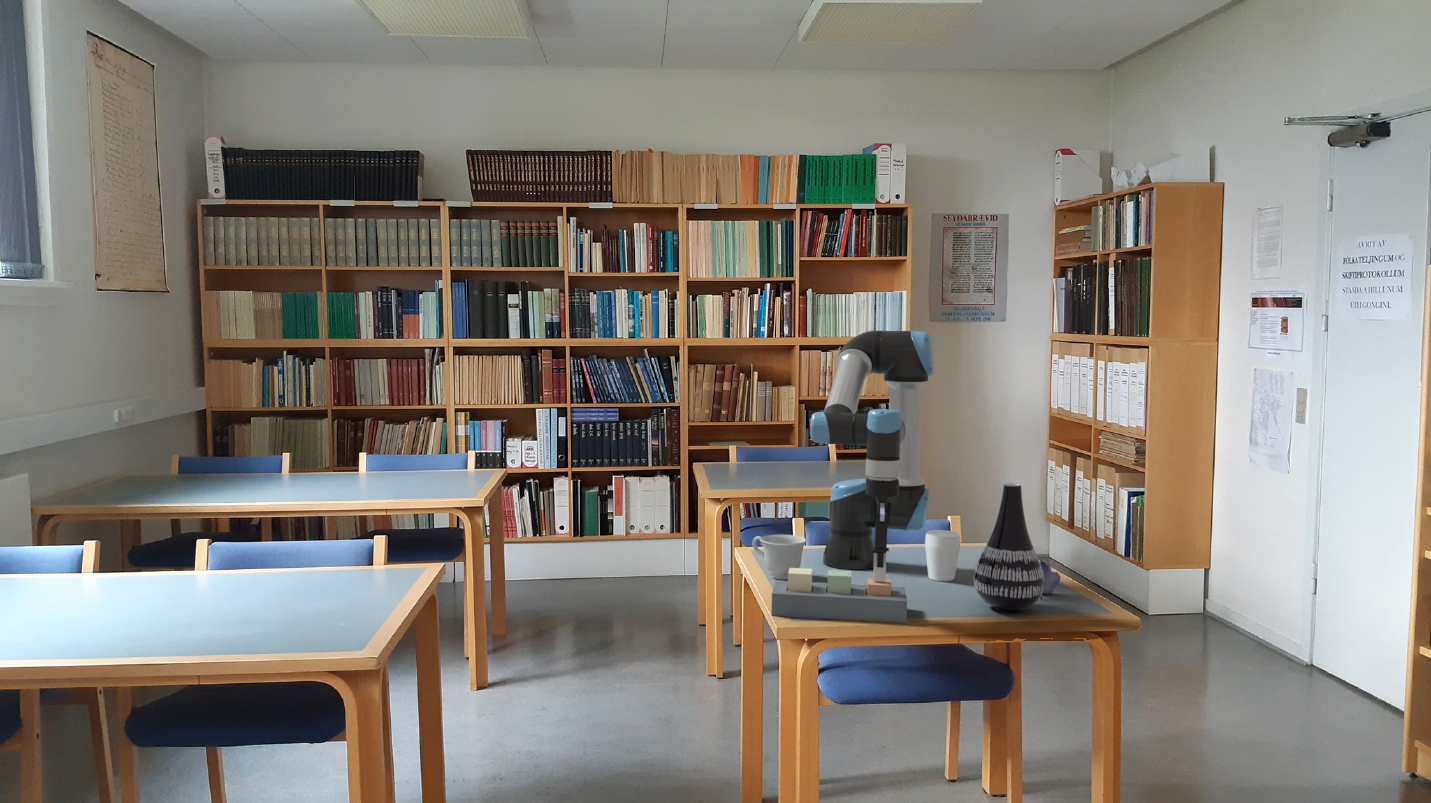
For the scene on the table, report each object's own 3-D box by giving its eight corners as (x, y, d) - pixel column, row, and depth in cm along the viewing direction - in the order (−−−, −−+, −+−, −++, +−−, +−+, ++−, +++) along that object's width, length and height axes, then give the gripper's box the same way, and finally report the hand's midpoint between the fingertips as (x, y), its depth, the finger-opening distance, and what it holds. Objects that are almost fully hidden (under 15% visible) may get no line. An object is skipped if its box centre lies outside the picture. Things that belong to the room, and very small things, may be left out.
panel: (771, 615, 222) (771, 593, 221) (775, 600, 233) (776, 580, 233) (906, 623, 218) (907, 601, 217) (903, 608, 229) (904, 587, 229)
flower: (1062, 576, 236) (1049, 549, 245) (1027, 588, 238) (1015, 561, 246) (1072, 602, 240) (1058, 575, 249) (1037, 614, 242) (1026, 587, 251)
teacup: (762, 567, 266) (763, 531, 265) (813, 575, 259) (813, 537, 258) (741, 576, 256) (742, 539, 255) (793, 585, 248) (794, 546, 248)
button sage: (827, 603, 223) (827, 575, 223) (827, 597, 228) (828, 569, 228) (850, 604, 222) (851, 576, 222) (850, 598, 228) (851, 570, 227)
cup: (962, 576, 260) (963, 532, 259) (955, 584, 252) (956, 538, 251) (928, 572, 264) (929, 528, 263) (920, 580, 256) (921, 534, 255)
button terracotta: (866, 612, 222) (867, 584, 221) (866, 606, 227) (867, 578, 227) (890, 614, 221) (891, 585, 221) (889, 607, 226) (890, 579, 226)
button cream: (787, 601, 224) (788, 573, 224) (788, 595, 230) (789, 567, 229) (810, 602, 224) (811, 574, 223) (811, 596, 229) (812, 568, 228)
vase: (1033, 622, 220) (1038, 492, 217) (963, 611, 228) (968, 485, 226) (1050, 606, 233) (1055, 483, 231) (984, 595, 241) (988, 477, 239)
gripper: (900, 482, 215) (897, 588, 217) (898, 474, 228) (894, 574, 230) (866, 481, 216) (863, 586, 218) (865, 473, 229) (862, 572, 231)
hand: (879, 580), depth 224 cm, fingers closed
